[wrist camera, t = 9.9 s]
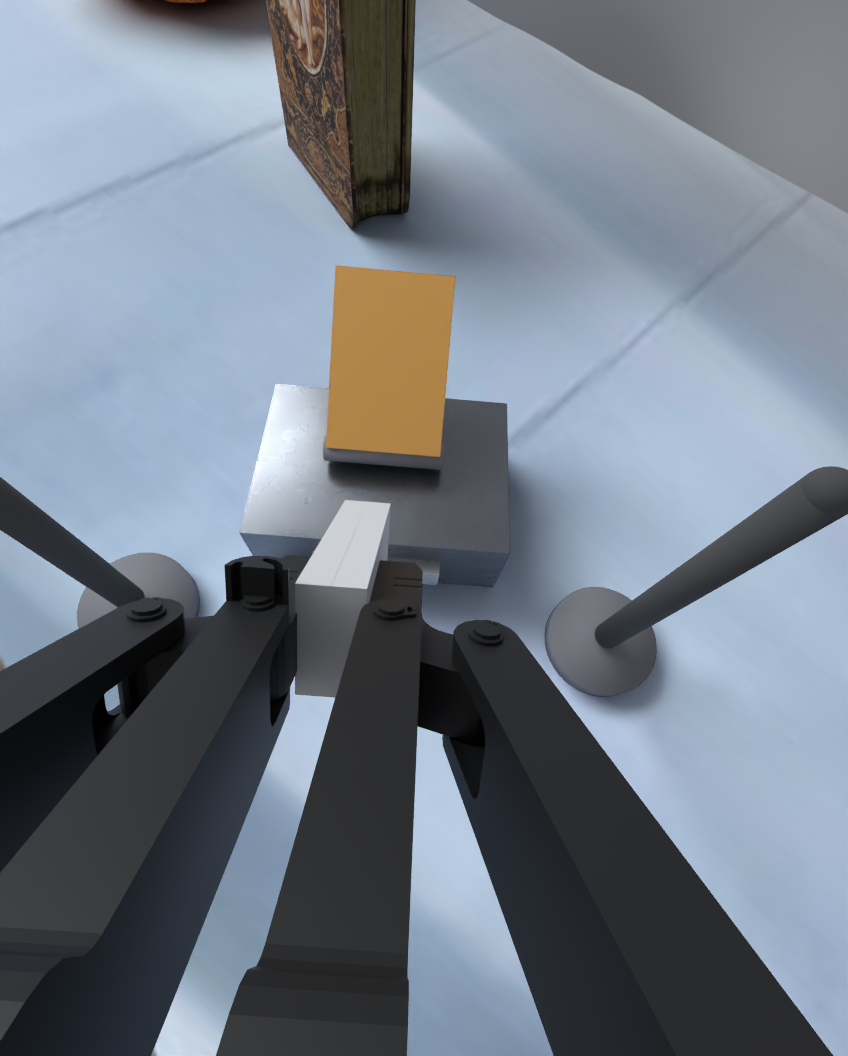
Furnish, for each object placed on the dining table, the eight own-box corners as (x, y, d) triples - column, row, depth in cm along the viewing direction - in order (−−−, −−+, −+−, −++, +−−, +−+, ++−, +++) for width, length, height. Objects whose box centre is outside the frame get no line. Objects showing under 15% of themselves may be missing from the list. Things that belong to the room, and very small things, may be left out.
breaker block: (492, 599, 31) (510, 567, 26) (258, 581, 31) (235, 546, 26) (492, 451, 36) (506, 403, 31) (290, 434, 35) (275, 383, 31)
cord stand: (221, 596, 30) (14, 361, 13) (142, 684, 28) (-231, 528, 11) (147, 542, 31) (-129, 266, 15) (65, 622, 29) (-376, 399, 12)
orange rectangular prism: (442, 470, 27) (459, 276, 26) (321, 460, 27) (331, 265, 26) (440, 469, 29) (456, 289, 28) (327, 460, 29) (337, 278, 28)
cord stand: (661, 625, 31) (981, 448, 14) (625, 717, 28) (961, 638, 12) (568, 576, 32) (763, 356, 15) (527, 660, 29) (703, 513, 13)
